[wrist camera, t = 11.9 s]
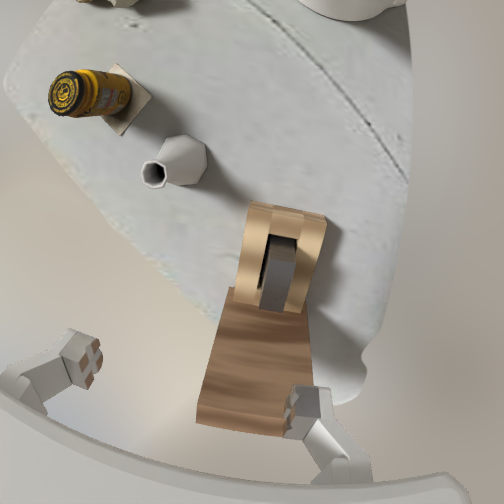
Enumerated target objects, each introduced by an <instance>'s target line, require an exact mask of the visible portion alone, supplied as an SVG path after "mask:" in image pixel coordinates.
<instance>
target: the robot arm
mask: <svg viewBox="0 0 504 504" xmlns="http://www.w3.org/2000/svg"><path fill="white" fill-rule="evenodd" d="M299 1H300V2H301V3H303V4H304V5H305V6H307V7H308V8H310V9H311V10H313V11H315V12H317V13H319V14H321V15H324V16H326V17H329V18H333V19H337V20H343V21H361V20H367V19H370V18H373V17H375V16H377V15H378V14H380V13H381V12H383V11H384V10H385V9H387V8H389V7H396V6H401V5H403V4H405V2H406V1H407V0H299ZM99 346H100V342H99V339H97V338H94V337H91V336H89V335H86V334H83V333H81V332H78V331H76V330H73V329H71V328H69V329H67V330H66V331H65V332H64V333H63V335H62V336H61V337H60V338H59V340H58V341H57V342H56V343H55V344H54V346H53V347H52V349H51V350H50V351H48V350H46V351H43V352H41V353H38V354H36V355H33V356H31V357H28V358H26V359H24V360H21V361H19V362H16V363H14V364H11V365H9V366H7V367H6V369H5V370H4V371H3V372H2V374H1V375H0V504H471V499H470V495H469V492H468V490H467V488H465V486H464V485H463V484H461V483H460V482H459V481H458V480H457V479H456V478H455V477H453V476H452V475H451V474H449V473H448V472H437V473H433V474H428V475H423V476H417V477H411V478H405V479H399V480H392V481H391V480H390V481H382V482H373V476H372V469H371V462H370V457H369V455H368V454H367V453H366V452H365V451H364V450H363V449H362V447H361V446H360V445H359V444H358V443H357V442H356V441H355V439H354V438H353V437H352V436H351V435H350V434H349V432H348V431H347V430H346V429H345V428H344V427H343V425H342V424H341V423H340V422H339V421H338V420H335V419H334V413H333V404H332V396H331V389H330V388H329V387H319V386H311V385H301V384H293V385H292V386H291V389H290V394H289V395H287V398H286V400H285V404H284V411H283V416H284V418H285V419H286V420H285V422H284V424H283V438H286V439H294V440H303V443H304V444H305V446H306V447H307V449H308V451H309V452H310V454H311V456H312V457H313V459H314V460H315V462H316V464H317V465H318V467H319V468H320V470H321V473H320V474H318V475H317V476H316V477H315V478H314V479H313V480H312V481H311V485H307V484H303V485H302V484H285V483H284V484H283V483H272V482H261V481H251V480H244V479H237V478H231V477H225V476H218V475H213V474H208V473H203V472H198V471H193V470H189V469H185V468H181V467H177V466H173V465H169V464H165V463H162V462H159V461H155V460H152V459H148V458H145V457H142V456H139V455H136V454H133V453H130V452H127V451H124V450H121V449H119V448H116V447H113V446H111V445H108V444H106V443H103V442H100V441H98V440H96V439H93V438H91V437H89V436H86V435H84V434H82V433H80V432H78V431H75V430H73V429H71V428H69V427H67V426H65V425H63V424H61V423H59V422H57V421H55V420H53V419H51V418H49V417H47V414H48V413H47V410H46V408H45V407H44V405H43V402H45V401H46V400H48V399H50V398H51V397H53V396H55V395H56V394H58V393H59V392H61V391H62V390H64V389H66V388H68V387H69V386H71V385H72V384H74V385H76V386H79V387H81V388H84V389H86V390H88V389H89V387H90V385H91V384H92V382H93V380H94V376H93V374H95V373H98V372H99V370H100V368H101V366H102V362H103V355H102V352H101V351H100V349H99Z"/></svg>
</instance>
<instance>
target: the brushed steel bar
mask: <svg viewBox="0 0 504 504" xmlns="http://www.w3.org/2000/svg"><path fill="white" fill-rule="evenodd" d="M295 267H296V256H295V245H294V238H290V237H285V236H279V235H274V234H271V236H270V241H269V246H268V251H267V255H266V260H265V264H264V269H263V275H262V283H261V292H260V301H259V309H262V310H267V311H273V312H279V313H283V310H284V306H285V303H286V299H287V296H288V292H289V289H290V285H291V281H292V278H293V274H294V270H295Z"/></svg>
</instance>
